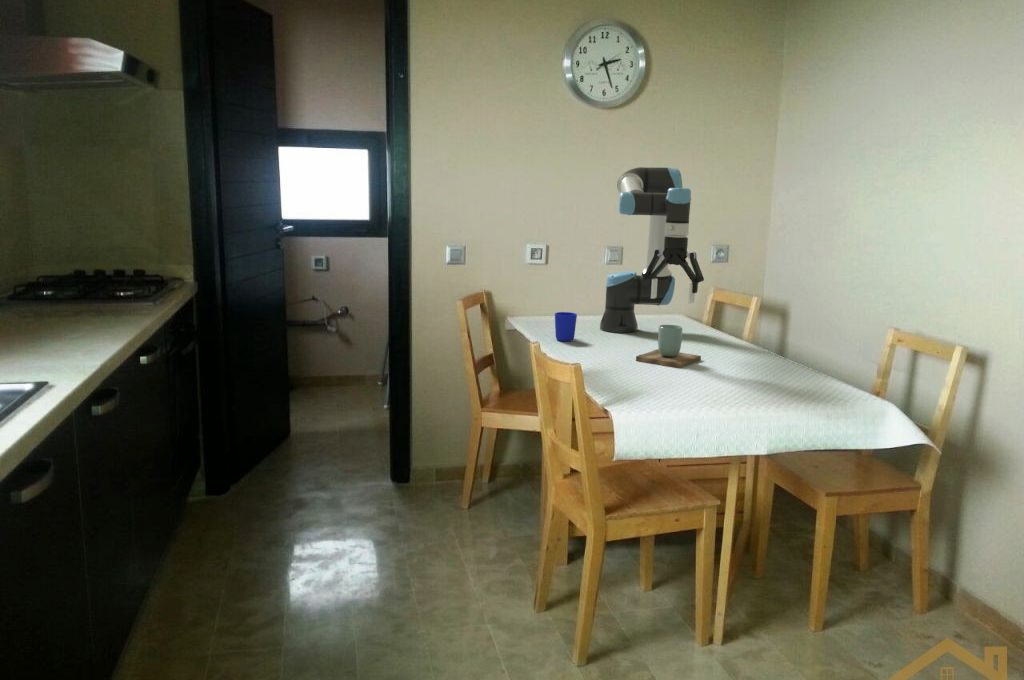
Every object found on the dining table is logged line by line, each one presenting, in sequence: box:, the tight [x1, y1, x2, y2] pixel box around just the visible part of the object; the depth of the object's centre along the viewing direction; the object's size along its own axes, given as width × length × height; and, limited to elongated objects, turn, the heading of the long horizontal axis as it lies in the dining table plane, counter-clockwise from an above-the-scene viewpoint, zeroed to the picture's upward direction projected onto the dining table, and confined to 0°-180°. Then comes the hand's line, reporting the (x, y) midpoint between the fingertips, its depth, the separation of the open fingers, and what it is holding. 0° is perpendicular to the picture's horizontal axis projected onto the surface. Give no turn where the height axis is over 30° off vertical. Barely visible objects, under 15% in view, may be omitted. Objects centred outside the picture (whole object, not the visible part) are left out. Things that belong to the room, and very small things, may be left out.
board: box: [635, 348, 702, 369], centre depth 268 cm, size 16×16×2 cm
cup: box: [657, 324, 683, 357], centre depth 267 cm, size 8×8×10 cm
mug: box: [554, 311, 578, 342], centre depth 300 cm, size 8×12×10 cm
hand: (672, 300), depth 265 cm, fingers open, 13 cm apart
